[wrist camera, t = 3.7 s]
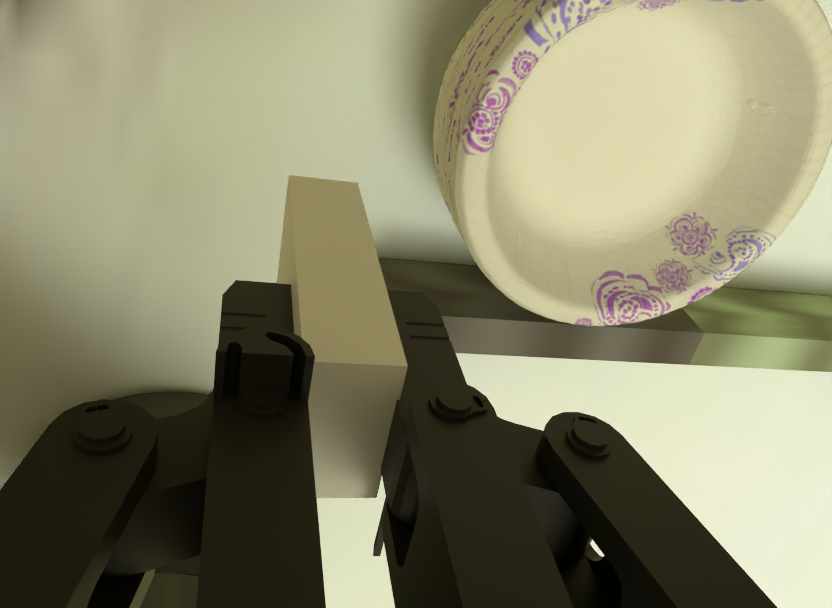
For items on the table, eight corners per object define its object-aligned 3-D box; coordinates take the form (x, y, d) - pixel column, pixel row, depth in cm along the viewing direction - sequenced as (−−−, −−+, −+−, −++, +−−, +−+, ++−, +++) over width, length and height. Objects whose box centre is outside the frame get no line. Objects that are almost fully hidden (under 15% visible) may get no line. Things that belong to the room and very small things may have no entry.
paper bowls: (554, 297, 39) (614, 389, 32) (347, 118, 31) (371, 191, 25) (787, 88, 35) (910, 146, 28) (611, -177, 27) (724, -182, 20)
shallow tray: (371, 291, 36) (386, 349, 32) (471, -232, 25) (513, -246, 21) (964, 334, 47) (1032, 382, 43) (1222, -24, 36) (1348, -6, 31)
